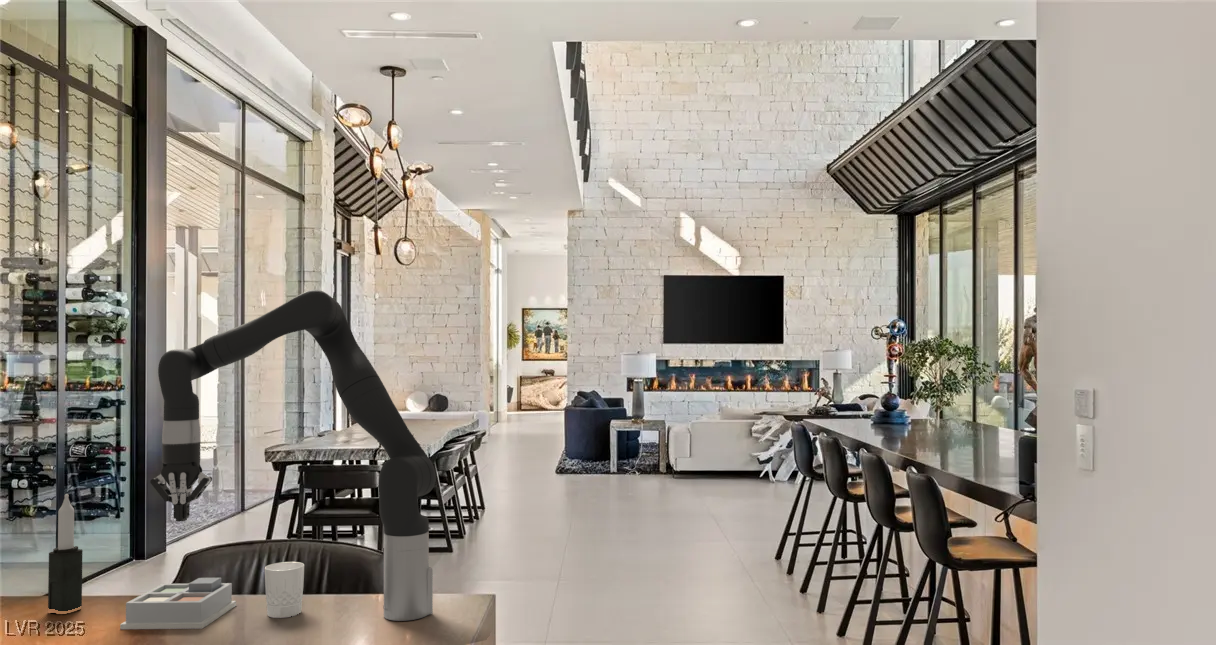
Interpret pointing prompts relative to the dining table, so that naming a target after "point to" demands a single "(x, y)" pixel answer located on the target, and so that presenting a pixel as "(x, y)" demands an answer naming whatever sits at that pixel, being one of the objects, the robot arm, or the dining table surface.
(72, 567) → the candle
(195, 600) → the key terracotta
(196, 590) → the key slate
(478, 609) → the dining table surface
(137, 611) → the keypad
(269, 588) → the white cup
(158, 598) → the key cream
